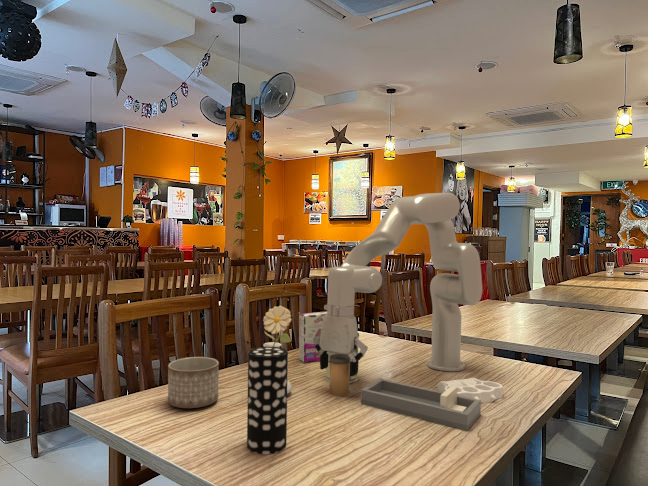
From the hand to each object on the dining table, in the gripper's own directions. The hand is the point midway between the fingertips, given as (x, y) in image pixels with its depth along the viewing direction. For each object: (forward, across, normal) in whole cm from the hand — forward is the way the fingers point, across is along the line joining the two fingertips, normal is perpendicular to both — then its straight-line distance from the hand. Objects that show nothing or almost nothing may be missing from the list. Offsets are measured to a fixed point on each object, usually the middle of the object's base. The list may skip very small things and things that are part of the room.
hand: (338, 371), depth 131 cm
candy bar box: (+6, -24, +24) cm, 34 cm away
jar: (+6, 0, 0) cm, 6 cm away
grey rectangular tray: (+6, +23, +2) cm, 24 cm away
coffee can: (+6, -6, +12) cm, 14 cm away
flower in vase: (+6, -14, -12) cm, 19 cm away
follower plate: (+4, +32, +2) cm, 33 cm away
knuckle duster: (+6, +31, +20) cm, 38 cm away
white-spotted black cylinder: (+7, +4, -36) cm, 36 cm away
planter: (+7, -27, -28) cm, 40 cm away
